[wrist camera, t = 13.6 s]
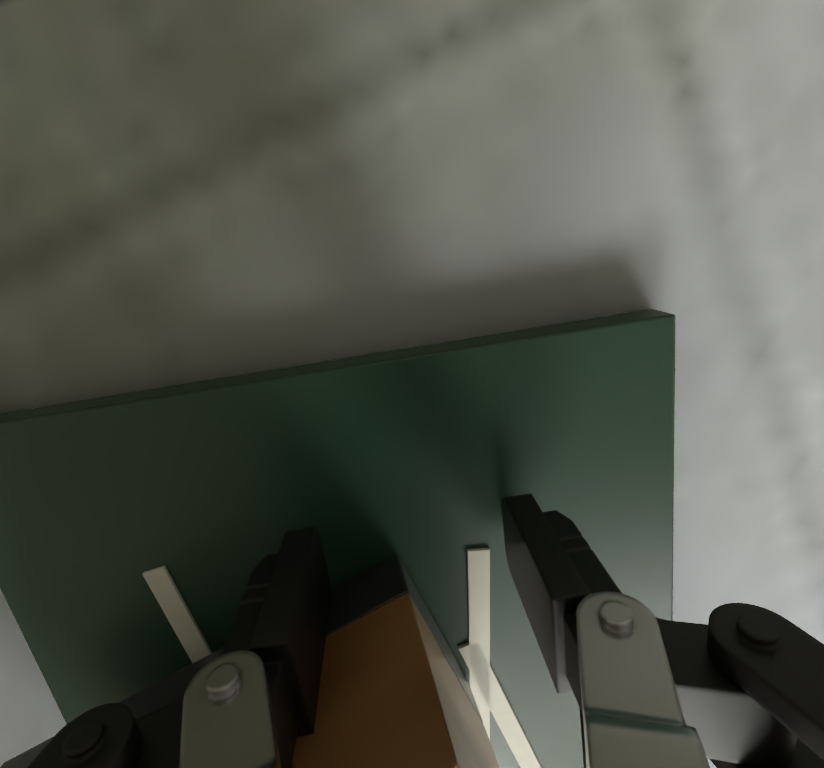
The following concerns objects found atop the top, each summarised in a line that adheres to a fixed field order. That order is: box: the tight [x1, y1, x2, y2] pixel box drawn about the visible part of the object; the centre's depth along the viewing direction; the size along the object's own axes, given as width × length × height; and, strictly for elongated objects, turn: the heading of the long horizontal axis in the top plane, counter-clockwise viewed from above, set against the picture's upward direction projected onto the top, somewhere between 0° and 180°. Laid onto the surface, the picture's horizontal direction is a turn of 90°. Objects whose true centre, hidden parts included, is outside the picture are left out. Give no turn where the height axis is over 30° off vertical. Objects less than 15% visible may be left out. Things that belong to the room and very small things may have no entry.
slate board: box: [0, 309, 675, 768], centre depth 15 cm, size 22×18×1 cm
